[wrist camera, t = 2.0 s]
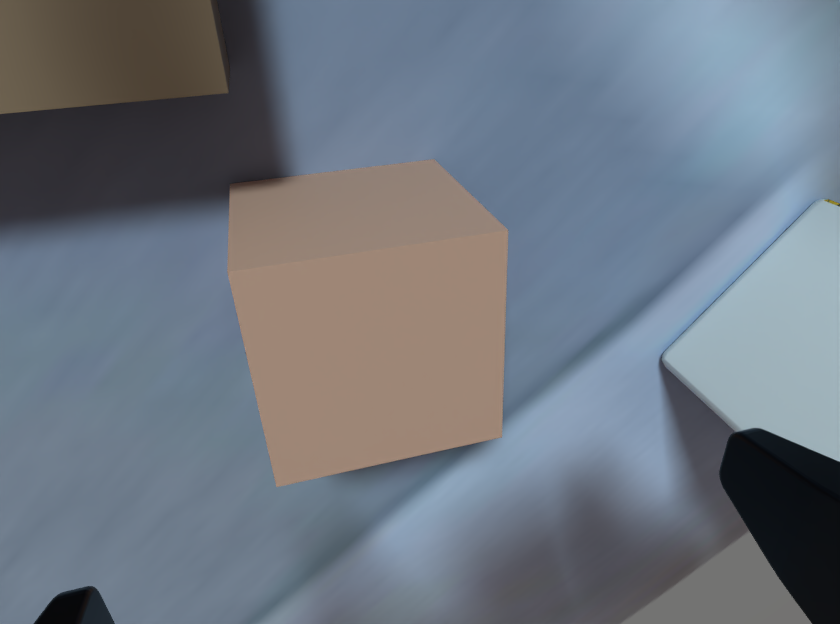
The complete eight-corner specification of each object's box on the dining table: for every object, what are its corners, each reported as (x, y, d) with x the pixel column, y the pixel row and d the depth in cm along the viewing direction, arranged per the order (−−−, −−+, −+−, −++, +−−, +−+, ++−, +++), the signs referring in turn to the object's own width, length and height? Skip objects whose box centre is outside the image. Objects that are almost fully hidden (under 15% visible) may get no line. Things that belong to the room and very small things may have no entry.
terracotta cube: (433, 158, 15) (507, 230, 11) (439, 326, 18) (501, 436, 14) (229, 182, 14) (227, 272, 10) (266, 357, 17) (276, 486, 13)
